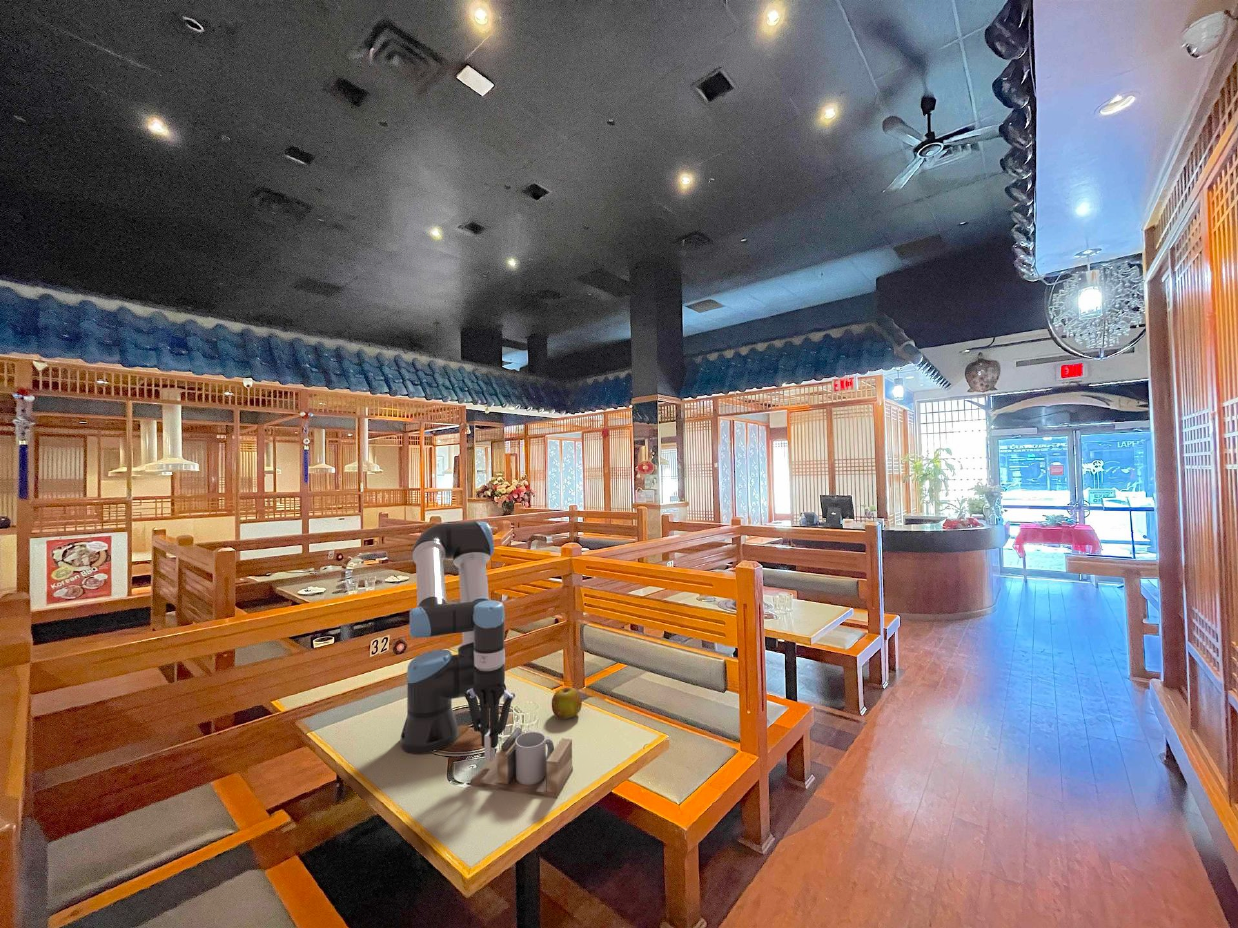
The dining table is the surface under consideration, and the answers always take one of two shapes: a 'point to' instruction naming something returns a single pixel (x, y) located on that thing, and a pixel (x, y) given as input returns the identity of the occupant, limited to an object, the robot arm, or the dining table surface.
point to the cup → (532, 757)
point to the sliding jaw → (507, 758)
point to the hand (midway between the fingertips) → (489, 758)
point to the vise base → (548, 787)
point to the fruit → (566, 703)
